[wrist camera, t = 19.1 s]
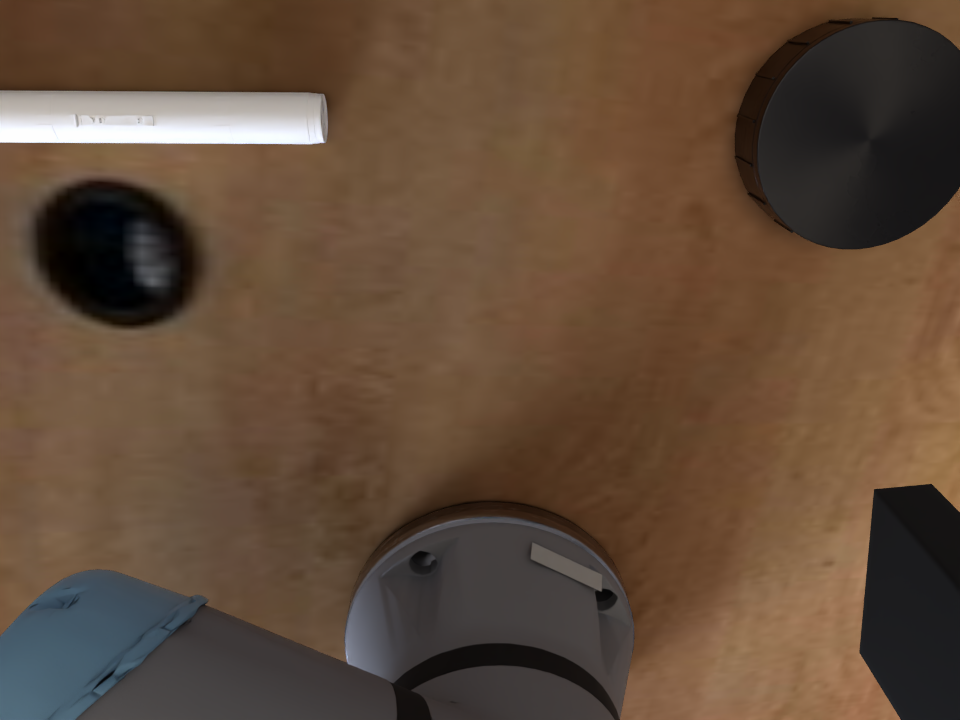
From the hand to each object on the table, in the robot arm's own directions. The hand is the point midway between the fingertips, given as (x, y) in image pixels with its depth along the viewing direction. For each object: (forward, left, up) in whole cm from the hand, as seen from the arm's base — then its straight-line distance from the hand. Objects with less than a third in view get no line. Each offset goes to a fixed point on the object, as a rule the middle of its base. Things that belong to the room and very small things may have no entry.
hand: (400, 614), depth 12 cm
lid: (+7, -16, -26) cm, 32 cm away
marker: (0, +14, -29) cm, 32 cm away
